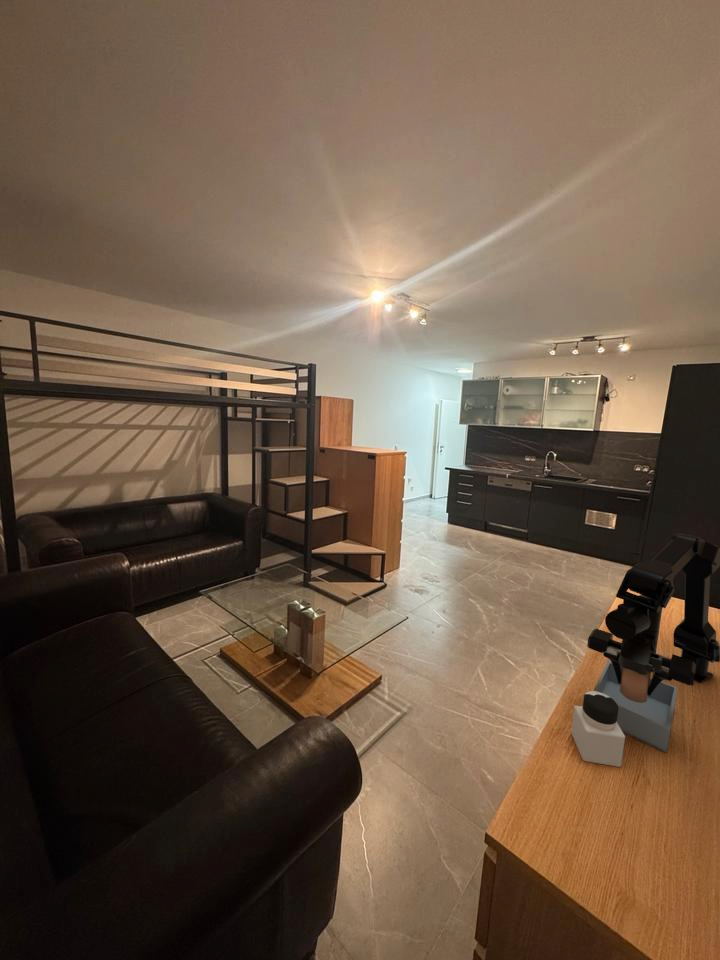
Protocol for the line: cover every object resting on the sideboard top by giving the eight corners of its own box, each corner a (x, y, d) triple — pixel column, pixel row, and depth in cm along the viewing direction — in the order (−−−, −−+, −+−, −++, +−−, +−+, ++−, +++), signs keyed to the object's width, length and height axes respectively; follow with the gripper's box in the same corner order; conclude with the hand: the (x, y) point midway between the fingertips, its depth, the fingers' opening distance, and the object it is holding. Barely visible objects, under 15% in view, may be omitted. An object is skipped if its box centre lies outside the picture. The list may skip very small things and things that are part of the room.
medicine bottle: (622, 768, 75) (629, 714, 73) (582, 761, 76) (588, 709, 74) (606, 738, 82) (612, 689, 80) (570, 733, 83) (576, 684, 81)
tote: (605, 679, 100) (607, 660, 99) (674, 708, 90) (677, 687, 89) (588, 715, 88) (591, 695, 87) (666, 753, 78) (670, 730, 77)
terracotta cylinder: (617, 684, 88) (621, 657, 87) (643, 690, 86) (647, 662, 85) (622, 698, 83) (626, 670, 82) (649, 705, 81) (654, 676, 80)
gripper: (584, 622, 82) (577, 686, 85) (697, 660, 70) (685, 734, 72) (596, 604, 90) (590, 663, 93) (700, 635, 78) (689, 702, 80)
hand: (634, 688), depth 84 cm, fingers closed on terracotta cylinder, 5 cm apart
